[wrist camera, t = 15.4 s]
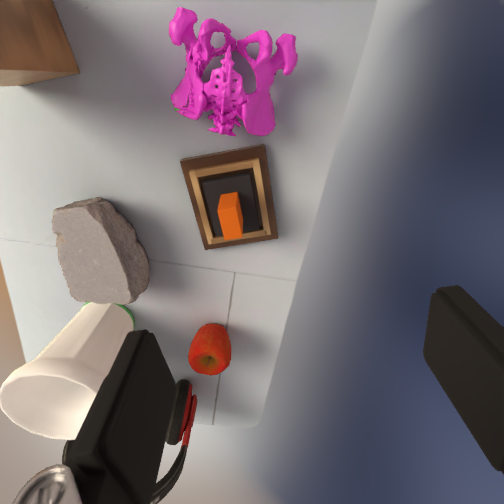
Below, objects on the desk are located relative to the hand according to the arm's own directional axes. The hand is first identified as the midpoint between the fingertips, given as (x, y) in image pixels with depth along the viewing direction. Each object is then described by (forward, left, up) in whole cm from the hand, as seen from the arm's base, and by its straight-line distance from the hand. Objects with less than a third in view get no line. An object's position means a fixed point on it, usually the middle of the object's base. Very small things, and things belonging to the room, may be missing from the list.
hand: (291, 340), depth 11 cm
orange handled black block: (+5, -4, -29) cm, 30 cm away
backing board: (+5, -4, -30) cm, 31 cm away
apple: (+26, -12, -30) cm, 42 cm away
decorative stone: (+8, -22, -30) cm, 38 cm away
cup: (+21, -28, -30) cm, 46 cm away
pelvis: (-8, -2, -30) cm, 31 cm away
